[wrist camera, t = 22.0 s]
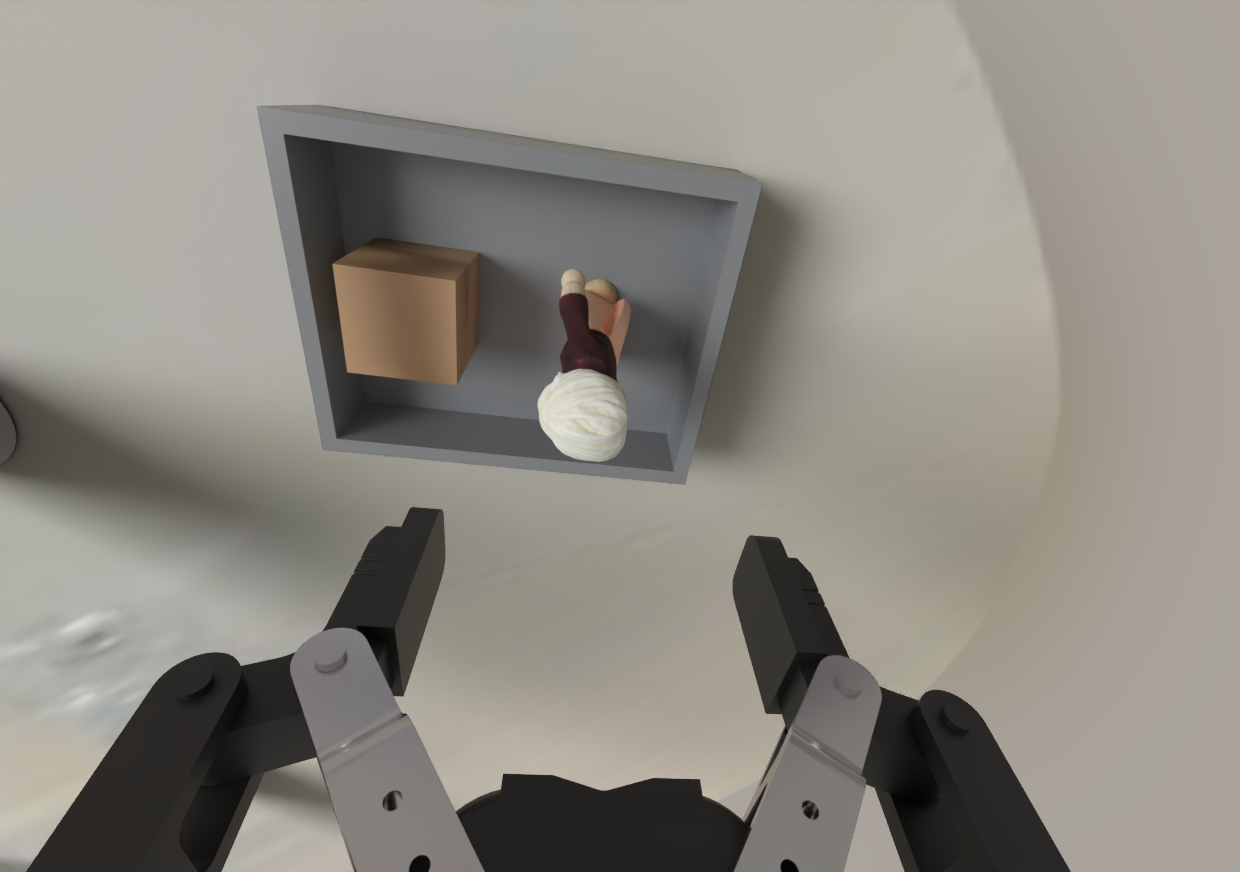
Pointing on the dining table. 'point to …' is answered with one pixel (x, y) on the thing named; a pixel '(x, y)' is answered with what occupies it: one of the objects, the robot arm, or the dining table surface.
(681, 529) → the dining table surface
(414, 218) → the tote
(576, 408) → the grandmother figurine
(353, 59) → the dining table surface
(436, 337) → the walnut block
